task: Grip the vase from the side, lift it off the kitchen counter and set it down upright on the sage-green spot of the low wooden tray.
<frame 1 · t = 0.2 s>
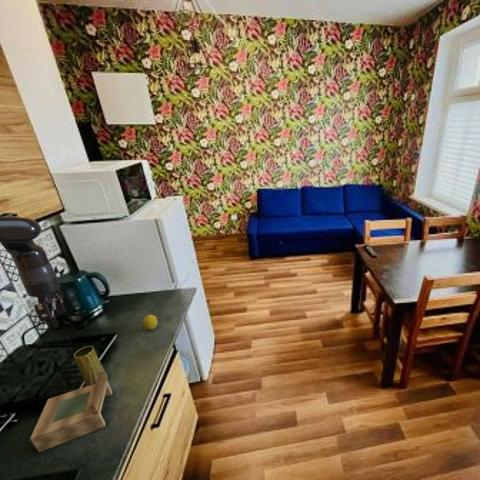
hand: (58, 320, 89), 24 cm above the kitchen counter, tool pointing down, fingers open, 8 cm apart
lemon: (152, 329, 120), on the kitchen counter
vase: (97, 382, 95), on the kitchen counter
wooden tray: (79, 419, 83), on the kitchen counter
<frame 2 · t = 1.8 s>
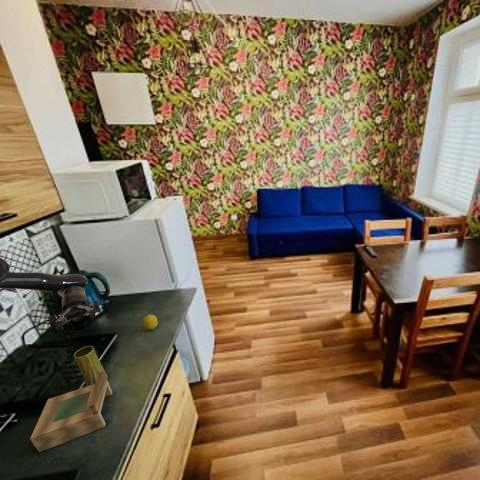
hand: (76, 323, 95), 19 cm above the kitchen counter, tool horizontal, fingers open, 8 cm apart
nothing on the kitchen counter moved.
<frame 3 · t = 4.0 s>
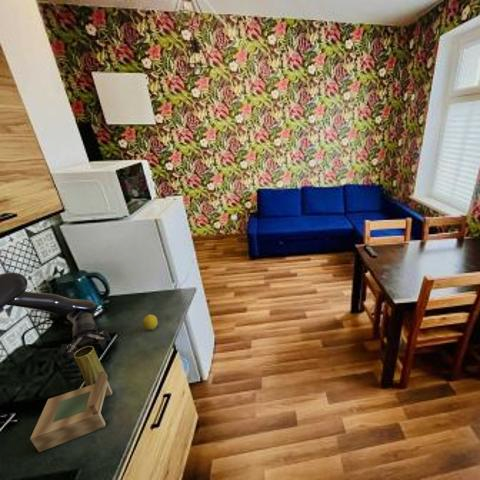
hand: (88, 353, 97), 8 cm above the kitchen counter, tool horizontal, fingers open, 8 cm apart
nothing on the kitchen counter moved.
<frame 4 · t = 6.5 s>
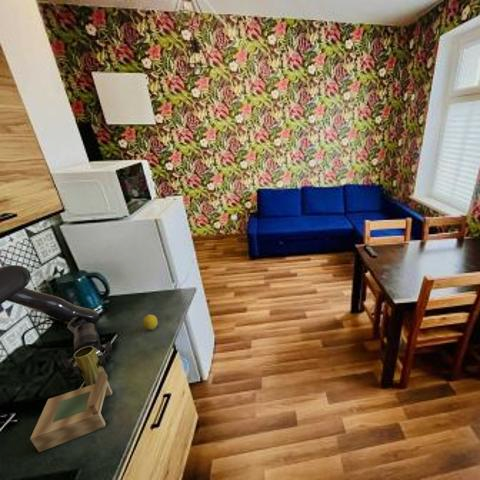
hand: (90, 369, 90), 8 cm above the kitchen counter, tool horizontal, fingers closed on vase, 5 cm apart
vase: (97, 382, 95), on the kitchen counter, touching gripper
everything else where it was.
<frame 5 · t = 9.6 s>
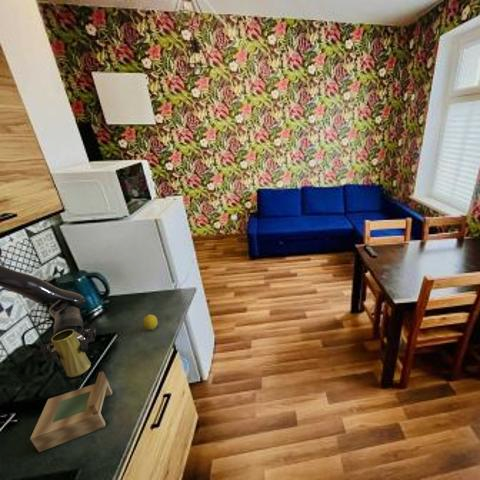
hand: (70, 355, 81), 20 cm above the kitchen counter, tool horizontal, fingers closed on vase, 5 cm apart
vase: (79, 369, 86), point 11 cm above the kitchen counter, touching gripper
everything else where it was.
when the fingers open (14 cm above the kitchen counter, at t = 13.1 s): vase stays where it is, resting on wooden tray.
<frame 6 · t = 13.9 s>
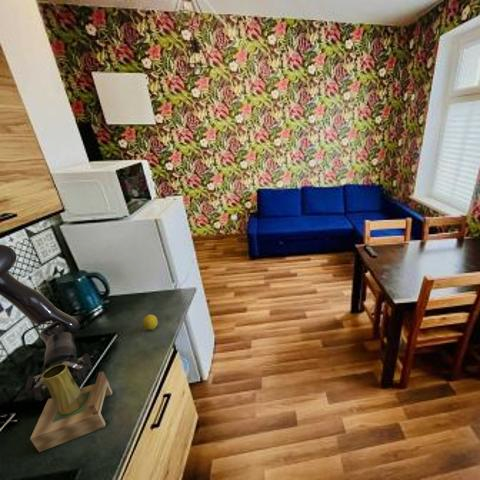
hand: (61, 388, 76), 15 cm above the kitchen counter, tool horizontal, fingers open, 8 cm apart
vase: (72, 405, 81), point 6 cm above the kitchen counter, touching wooden tray
everything else where it was.
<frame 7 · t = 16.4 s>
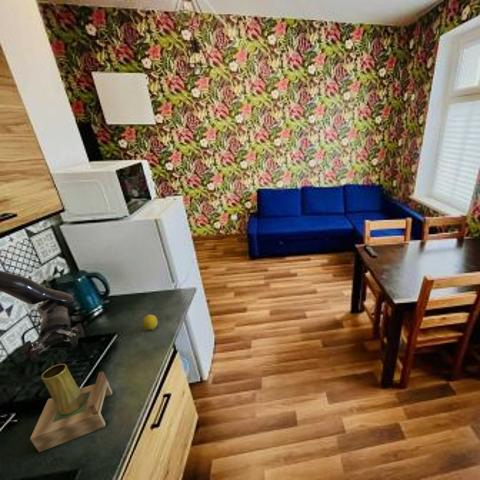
hand: (55, 352, 83), 19 cm above the kitchen counter, tool horizontal, fingers open, 8 cm apart
nothing on the kitchen counter moved.
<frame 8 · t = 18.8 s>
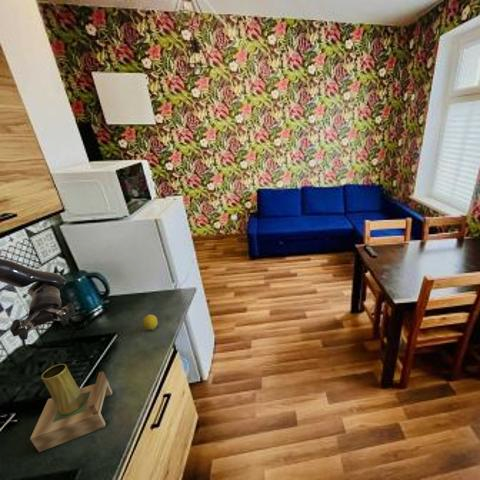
hand: (44, 330, 80), 28 cm above the kitchen counter, tool horizontal, fingers open, 8 cm apart
nothing on the kitchen counter moved.
at the end: vase 0.1 cm from the target spot, point 6.0 cm above the kitchen counter; vase tilted 0°; the gripper is holding nothing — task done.
